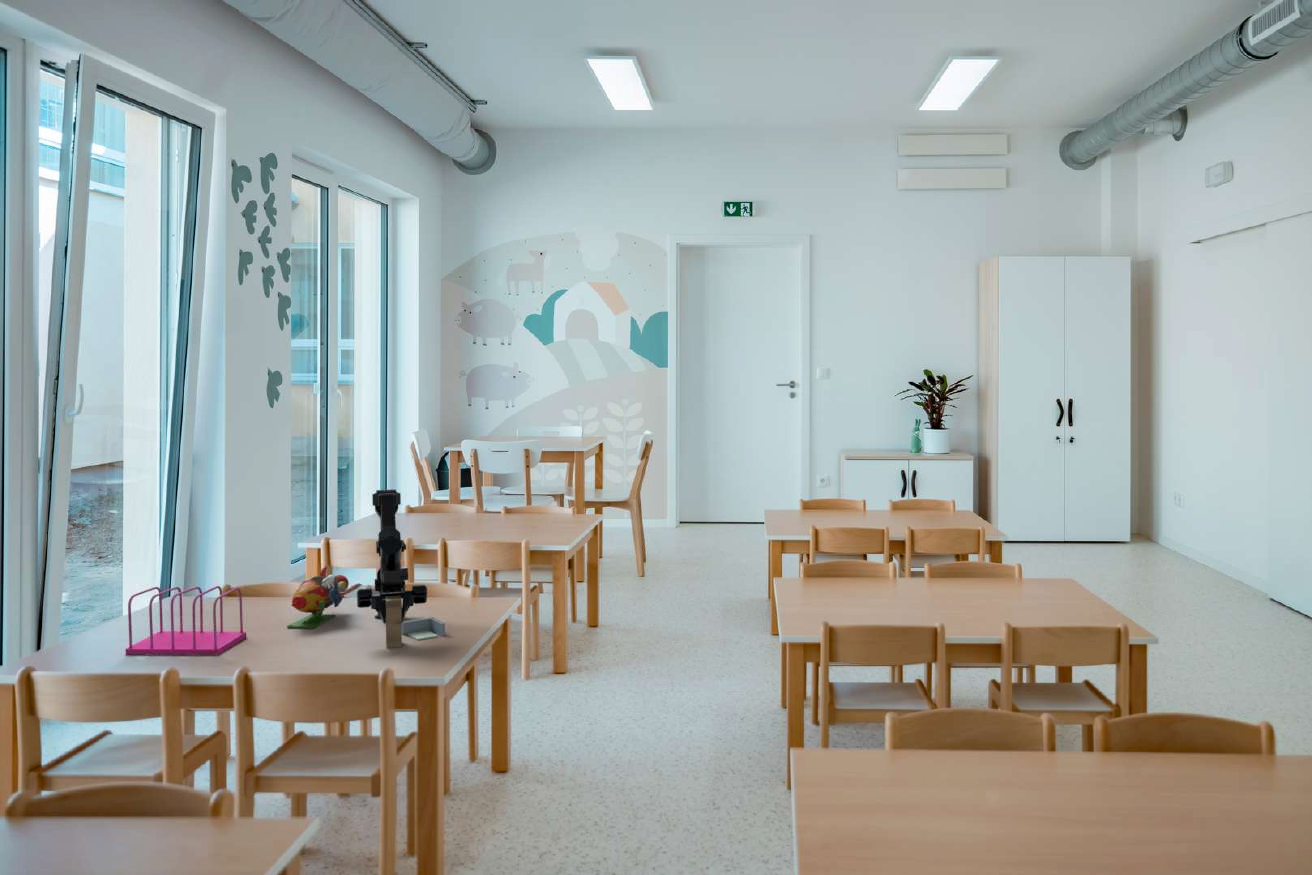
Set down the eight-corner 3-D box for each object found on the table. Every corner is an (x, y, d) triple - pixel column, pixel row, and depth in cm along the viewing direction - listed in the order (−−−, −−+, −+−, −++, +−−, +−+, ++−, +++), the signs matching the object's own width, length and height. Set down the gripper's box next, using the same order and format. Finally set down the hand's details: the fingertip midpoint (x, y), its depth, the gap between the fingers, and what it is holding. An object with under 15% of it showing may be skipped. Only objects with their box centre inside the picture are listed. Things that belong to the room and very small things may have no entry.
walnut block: (386, 643, 268) (385, 596, 267) (400, 641, 269) (400, 595, 268) (386, 647, 263) (386, 600, 262) (401, 646, 264) (401, 599, 263)
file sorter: (159, 637, 275) (157, 583, 274) (247, 637, 274) (245, 583, 273) (124, 655, 257) (122, 597, 256) (218, 655, 257) (216, 597, 256)
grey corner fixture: (401, 633, 277) (401, 621, 277) (433, 628, 283) (433, 616, 282) (413, 640, 270) (412, 628, 270) (445, 635, 275) (445, 623, 275)
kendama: (331, 606, 316) (356, 587, 333) (326, 588, 315) (351, 569, 332) (310, 610, 317) (335, 590, 335) (305, 592, 316) (330, 573, 334)
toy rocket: (273, 631, 280) (271, 579, 279) (315, 610, 305) (314, 562, 304) (319, 633, 278) (317, 580, 277) (357, 612, 303) (356, 563, 302)
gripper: (356, 560, 265) (357, 609, 256) (426, 556, 271) (429, 604, 261) (356, 582, 273) (357, 631, 264) (424, 578, 279) (428, 625, 269)
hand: (393, 622), depth 264 cm, fingers closed on walnut block, 4 cm apart
